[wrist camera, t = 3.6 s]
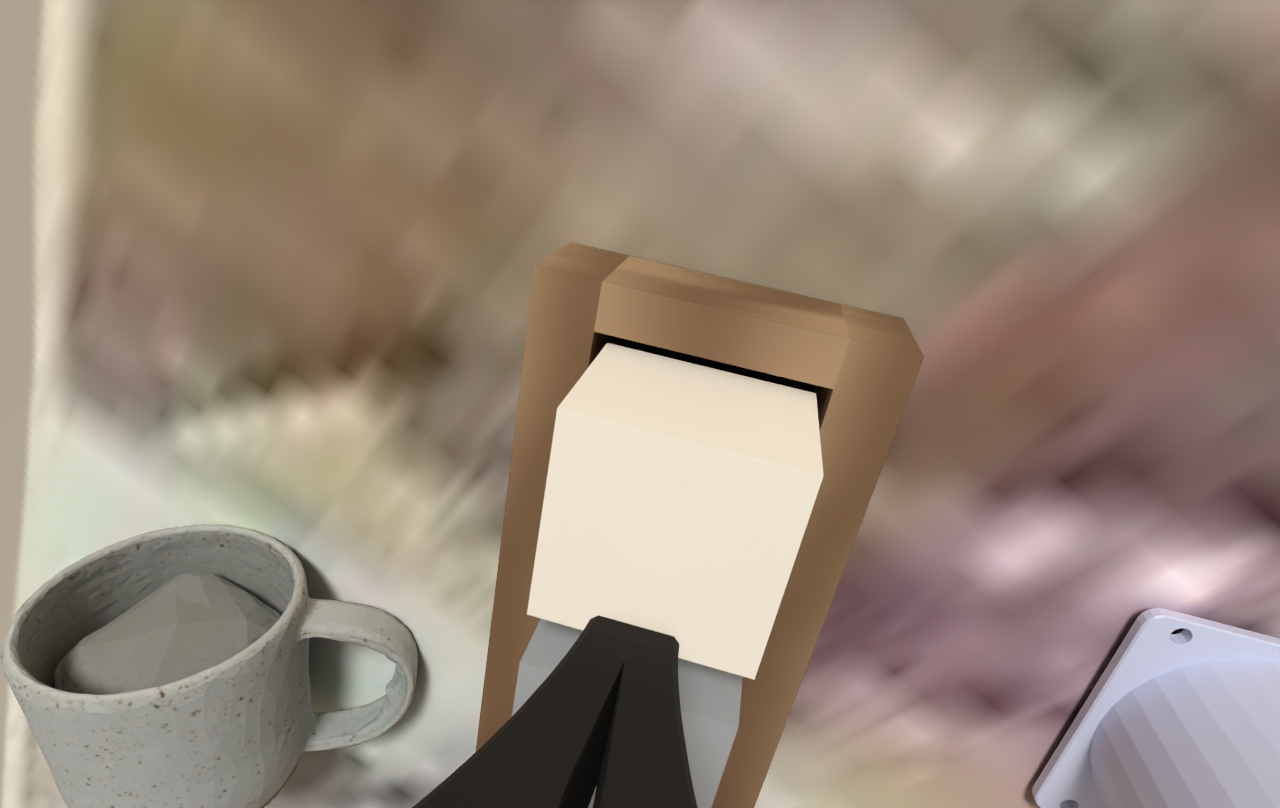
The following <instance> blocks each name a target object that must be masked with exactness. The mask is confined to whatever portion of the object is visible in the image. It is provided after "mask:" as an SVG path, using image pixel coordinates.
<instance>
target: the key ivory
mask: <svg viewBox="0 0 1280 808" xmlns="http://www.w3.org/2000/svg"><path fill="white" fill-rule="evenodd" d="M823 476H824V475H823V464H822V453H821V442H820V431H819V420H818V409H817V398H816V393H813V392H809V391H804V390H800V389H796V388H792V387H788V386H784V385H780V384H776V383H771V382H767V381H763V380H759V379H755V378H751V377H747V376H743V375H738V374H734V373H730V372H726V371H722V370H718V369H714V368H710V367H706V366H701V365H697V364H693V363H689V362H685V361H681V360H677V359H673V358H668V357H664V356H660V355H656V354H652V353H648V352H644V351H640V350H636V349H631V348H627V347H623V346H619V345H615V344H611V343H607V344H606V345H605V346H604V348H603V349H602V350H601V352H600V353H599V354H598V355H597V357H596V358H595V359H594V361H593V362H592V363H591V365H590V366H589V367H588V369H587V370H586V371H585V372H584V374H583V375H582V376H581V378H580V379H579V380H578V382H577V383H576V384H575V385H574V387H573V388H572V389H571V391H570V392H569V393H568V395H567V396H566V397H565V399H564V400H563V401H562V402H561V404H560V405H559V406H558V408H557V413H556V420H555V426H554V433H553V440H552V447H551V454H550V460H549V467H548V474H547V481H546V487H545V494H544V501H543V508H542V515H541V521H540V528H539V535H538V542H537V549H536V555H535V562H534V569H533V576H532V583H531V589H530V596H529V603H528V610H527V615H531V616H534V617H538V618H541V619H545V620H548V621H551V622H555V623H558V624H562V625H565V626H569V627H572V628H576V629H579V630H584V629H585V627H586V625H587V623H588V622H589V620H590V619H591V618H593V617H596V616H598V615H599V616H603V617H606V618H610V619H613V620H617V621H621V622H624V623H628V624H631V625H635V626H638V627H642V628H646V629H649V630H653V631H656V632H660V633H663V634H667V635H671V636H674V637H675V638H676V640H677V641H678V643H679V653H678V658H680V659H684V660H687V661H691V662H694V663H698V664H701V665H705V666H708V667H712V668H715V669H719V670H722V671H726V672H729V673H733V674H736V675H740V676H743V677H747V678H750V679H754V680H755V677H756V674H757V671H758V668H759V665H760V662H761V659H762V656H763V653H764V650H765V647H766V644H767V642H768V639H769V636H770V633H771V630H772V627H773V624H774V621H775V618H776V615H777V612H778V609H779V606H780V603H781V600H782V597H783V594H784V591H785V588H786V585H787V582H788V580H789V577H790V574H791V571H792V568H793V565H794V562H795V559H796V556H797V553H798V550H799V547H800V544H801V541H802V538H803V535H804V532H805V529H806V526H807V523H808V520H809V518H810V515H811V512H812V509H813V506H814V503H815V500H816V497H817V494H818V491H819V488H820V485H821V482H822V479H823Z"/></svg>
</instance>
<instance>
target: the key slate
mask: <svg viewBox="0 0 1280 808" xmlns="http://www.w3.org/2000/svg"><path fill="white" fill-rule="evenodd" d="M582 632H583V630H579V629H576V628H572V627H569V626H565V625H562V624H558V623H555V622H551V621H548V620H545V619H541V620H540V622H539V624H538V626H537V628H536V630H535V632H534V634H533V636H532V638H531V640H530V642H529V644H528V646H527V648H526V651H525V653H524V655H523V657H522V659H521V661H520V664H519V671H518V678H517V684H516V691H515V698H514V705H513V711H512V716H513V715H514V714H515V713H516V712H517V711H518V710H519V709H520V708H521V706H522V705H523V704H524V703H525V702H526V701H527V700H528V699H529V697H530V696H531V695H532V694H533V693H534V692H535V691H536V690H537V688H538V687H539V686H540V685H541V684H542V683H543V682H544V681H545V679H546V678H547V677H548V676H549V675H550V674H551V673H552V671H553V670H554V669H555V668H556V666H557V665H558V664H559V663H560V661H561V660H562V659H563V658H564V656H565V655H566V654H567V653H568V651H569V650H570V649H571V647H572V646H573V645H574V643H575V642H576V640H577V639H578V637H579V636H580V635H581V633H582ZM742 679H743V676H740V675H736V674H733V673H729V672H726V671H722V670H719V669H715V668H712V667H708V666H705V665H701V664H698V663H694V662H691V661H687V660H684V659H680V658H678V681H679V695H680V706H681V716H682V724H683V731H684V737H685V744H686V750H687V756H688V762H689V768H690V773H691V779H692V784H693V789H694V794H695V798H696V803H697V807H698V808H711V807H712V804H713V801H714V798H715V795H716V792H717V789H718V786H719V783H720V780H721V777H722V774H723V771H724V768H725V765H726V763H727V760H728V757H729V754H730V751H731V748H732V745H733V742H734V739H735V736H736V733H737V730H738V727H739V715H740V703H741V691H742ZM595 792H596V788H595V791H594V794H593V796H592V799H591V802H590V804H589V807H588V808H593V803H594V797H595Z"/></svg>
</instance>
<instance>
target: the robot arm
mask: <svg viewBox="0 0 1280 808" xmlns="http://www.w3.org/2000/svg"><path fill="white" fill-rule="evenodd" d="M1180 628H1183V629H1184V630H1183V631H1181V632H1180V633H1177V634H1171V633H1172V632H1173V631H1174V630H1177V629H1180ZM678 653H679V643H678V641H677V640H676V638H675V637H674V636H671V635H667V634H663V633H660V632H656V631H653V630H649V629H646V628H642V627H638V626H635V625H631V624H628V623H624V622H621V621H617V620H613V619H610V618H606V617H603V616H599V615H598V616H596V617H593V618H591V619H590V620H589V622H588V623H587V625H586V627H585V629H584V630H583V632H582V633H581V635H580V636H579V637H578V639H577V640H576V642H575V643H574V645H573V646H572V647H571V649H570V650H569V651H568V653H567V654H566V655H565V656H564V658H563V659H562V660H561V661H560V663H559V664H558V665H557V666H556V668H555V669H554V670H553V671H552V673H551V674H550V675H549V676H548V677H547V678H546V679H545V681H544V682H543V683H542V684H541V685H540V686H539V687H538V688H537V690H536V691H535V692H534V693H533V694H532V695H531V696H530V697H529V699H528V700H527V701H526V702H525V703H524V704H523V705H522V706H521V708H520V709H519V710H518V711H517V712H516V713H515V714H514V715H513V716H512V717H511V718H510V719H509V720H508V721H507V722H506V723H505V724H504V725H503V726H502V727H501V728H500V729H499V730H498V731H497V732H496V733H495V734H494V735H493V736H492V737H491V738H490V739H489V740H488V741H487V742H486V743H485V744H484V745H483V746H482V747H481V748H480V749H479V750H478V751H477V752H476V753H475V754H473V755H472V756H471V757H470V758H469V759H468V760H467V761H466V762H465V763H464V764H463V765H461V766H460V767H459V768H458V769H457V770H456V771H455V772H454V773H453V774H451V775H450V776H449V777H448V778H447V779H446V780H445V781H443V782H442V783H441V784H440V785H439V786H438V787H436V788H435V789H434V790H433V791H432V792H430V793H429V794H428V795H427V796H426V797H425V798H423V799H422V800H421V801H420V802H419V803H417V804H416V805H415V806H414V807H412V808H588V807H589V804H590V802H591V799H592V796H593V794H594V791H595V788H596V792H595V797H594V803H593V808H698V807H697V803H696V798H695V794H694V789H693V784H692V779H691V773H690V768H689V762H688V756H687V750H686V744H685V737H684V731H683V724H682V716H681V706H680V695H679V681H678ZM1032 793H1033V796H1034V799H1035V802H1036V804H1037V805H1038V806H1039V807H1040V808H1280V639H1279V638H1275V637H1272V636H1268V635H1264V634H1260V633H1256V632H1252V631H1249V630H1245V629H1241V628H1237V627H1233V626H1229V625H1226V624H1222V623H1218V622H1214V621H1210V620H1206V619H1203V618H1199V617H1195V616H1191V615H1187V614H1183V613H1180V612H1176V611H1172V610H1168V609H1163V608H1153V609H1148V610H1146V611H1144V612H1142V613H1141V614H1140V615H1139V616H1138V617H1137V619H1136V620H1135V622H1134V624H1133V625H1132V627H1131V628H1130V630H1129V632H1128V633H1127V635H1126V637H1125V638H1124V640H1123V641H1122V643H1121V645H1120V646H1119V648H1118V650H1117V651H1116V653H1115V654H1114V656H1113V658H1112V659H1111V661H1110V662H1109V664H1108V666H1107V667H1106V669H1105V671H1104V672H1103V674H1102V675H1101V677H1100V679H1099V680H1098V682H1097V684H1096V685H1095V687H1094V688H1093V690H1092V692H1091V693H1090V695H1089V697H1088V698H1087V700H1086V701H1085V703H1084V705H1083V706H1082V708H1081V710H1080V711H1079V713H1078V714H1077V716H1076V718H1075V719H1074V721H1073V723H1072V724H1071V726H1070V727H1069V729H1068V731H1067V732H1066V734H1065V735H1064V737H1063V739H1062V740H1061V742H1060V744H1059V745H1058V747H1057V748H1056V750H1055V752H1054V753H1053V755H1052V757H1051V758H1050V760H1049V761H1048V763H1047V765H1046V766H1045V768H1044V770H1043V771H1042V773H1041V774H1040V776H1039V778H1038V779H1037V781H1036V783H1035V784H1034V786H1033V788H1032ZM1065 800H1067V801H1065Z"/></svg>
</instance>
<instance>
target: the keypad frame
mask: <svg viewBox="0 0 1280 808" xmlns="http://www.w3.org/2000/svg"><path fill="white" fill-rule="evenodd" d="M615 337H618V338H623V339H627V340H631V341H635V342H639V343H643V344H647V345H652V346H656V347H660V348H664V349H668V350H672V351H676V352H681V353H685V354H689V355H693V356H697V357H701V358H705V359H710V360H714V361H718V362H722V363H726V364H730V365H734V366H738V367H743V368H747V369H751V370H755V371H759V372H763V373H767V374H772V375H776V376H780V377H784V378H788V379H792V380H796V381H801V382H805V383H809V384H813V385H815V388H814V391H813V393H816V398H817V409H818V420H819V431H820V442H821V453H822V464H823V475H824V476H823V479H822V482H821V485H820V488H819V491H818V494H817V497H816V500H815V503H814V506H813V509H812V512H811V515H810V518H809V520H808V523H807V526H806V529H805V532H804V535H803V538H802V541H801V544H800V547H799V550H798V553H797V556H796V559H795V562H794V565H793V568H792V571H791V574H790V577H789V580H788V582H787V585H786V588H785V591H784V594H783V597H782V600H781V603H780V606H779V609H778V612H777V615H776V618H775V621H774V624H773V627H772V630H771V633H770V636H769V639H768V642H767V644H766V647H765V650H764V653H763V656H762V659H761V662H760V665H759V668H758V671H757V674H756V677H755V680H754V679H750V678H747V677H743V679H742V691H741V703H740V715H739V727H738V730H737V733H736V736H735V739H734V742H733V745H732V748H731V751H730V754H729V757H728V760H727V763H726V765H725V768H724V771H723V774H722V777H721V780H720V783H719V786H718V789H717V792H716V795H715V798H714V801H713V804H712V807H711V808H754V806H755V804H756V801H757V798H758V796H759V793H760V790H761V788H762V785H763V782H764V780H765V777H766V774H767V772H768V769H769V766H770V764H771V761H772V759H773V756H774V753H775V751H776V748H777V745H778V743H779V740H780V737H781V735H782V732H783V729H784V727H785V724H786V721H787V719H788V716H789V713H790V711H791V708H792V705H793V703H794V700H795V698H796V695H797V692H798V690H799V687H800V684H801V682H802V679H803V676H804V674H805V671H806V668H807V666H808V663H809V660H810V658H811V655H812V652H813V650H814V647H815V645H816V642H817V639H818V637H819V634H820V631H821V629H822V626H823V623H824V621H825V618H826V615H827V613H828V610H829V607H830V605H831V602H832V599H833V597H834V594H835V592H836V589H837V586H838V584H839V581H840V578H841V576H842V573H843V570H844V568H845V565H846V562H847V560H848V557H849V554H850V552H851V549H852V546H853V544H854V541H855V538H856V536H857V533H858V531H859V528H860V525H861V523H862V520H863V517H864V515H865V512H866V509H867V507H868V504H869V501H870V499H871V496H872V493H873V491H874V488H875V485H876V483H877V480H878V478H879V475H880V472H881V470H882V467H883V464H884V462H885V459H886V456H887V454H888V451H889V448H890V446H891V443H892V440H893V438H894V435H895V432H896V430H897V427H898V425H899V422H900V419H901V417H902V414H903V411H904V409H905V406H906V403H907V401H908V398H909V395H910V393H911V390H912V387H913V385H914V382H915V379H916V377H917V374H918V371H919V369H920V366H921V364H922V361H923V358H924V356H923V354H922V352H921V351H920V349H919V347H918V345H917V343H916V341H915V339H914V337H913V335H912V334H911V332H910V330H909V328H908V326H907V324H906V322H905V320H904V319H903V318H898V317H894V316H889V315H885V314H881V313H876V312H872V311H868V310H863V309H859V308H854V307H850V306H846V305H841V304H837V303H833V302H828V301H824V300H820V299H815V298H811V297H806V296H802V295H798V294H793V293H789V292H785V291H780V290H776V289H771V288H767V287H763V286H758V285H754V284H750V283H745V282H741V281H737V280H732V279H728V278H723V277H719V276H715V275H710V274H706V273H702V272H697V271H693V270H689V269H684V268H680V267H675V266H671V265H667V264H662V263H658V262H654V261H649V260H645V259H640V258H636V257H632V256H627V255H623V254H619V253H614V252H610V251H606V250H601V249H597V248H592V247H588V246H584V245H579V244H575V243H570V244H568V245H567V246H565V247H564V248H562V249H561V250H559V251H557V252H556V253H554V254H553V255H551V256H550V257H548V258H546V259H545V260H543V261H542V262H540V263H538V264H537V265H535V266H534V275H533V283H532V291H531V299H530V308H529V316H528V324H527V333H526V341H525V349H524V357H523V366H522V374H521V382H520V390H519V399H518V407H517V415H516V423H515V432H514V440H513V448H512V457H511V465H510V473H509V481H508V490H507V498H506V506H505V514H504V523H503V531H502V539H501V547H500V556H499V564H498V572H497V581H496V589H495V597H494V605H493V614H492V622H491V630H490V638H489V647H488V655H487V663H486V671H485V680H484V688H483V696H482V705H481V713H480V721H479V729H478V738H477V746H476V752H477V751H478V750H479V749H480V748H481V747H482V746H483V745H484V744H485V743H486V742H487V741H488V740H489V739H490V738H491V737H492V736H493V735H494V734H495V733H496V732H497V731H498V730H499V729H500V728H501V727H502V726H503V725H504V724H505V723H506V722H507V721H508V720H509V719H510V718H511V717H512V711H513V705H514V698H515V691H516V684H517V678H518V671H519V664H520V661H521V659H522V657H523V655H524V653H525V651H526V648H527V646H528V644H529V642H530V640H531V638H532V636H533V634H534V632H535V630H536V628H537V626H538V624H539V622H540V620H541V618H538V617H534V616H531V615H527V610H528V603H529V596H530V589H531V583H532V576H533V569H534V562H535V555H536V549H537V542H538V535H539V528H540V521H541V515H542V508H543V501H544V494H545V487H546V481H547V474H548V467H549V460H550V454H551V447H552V440H553V433H554V426H555V420H556V413H557V408H558V406H559V405H560V404H561V402H562V401H563V400H564V399H565V397H566V396H567V395H568V393H569V392H570V391H571V389H572V388H573V387H574V385H575V384H576V383H577V382H578V380H579V379H580V378H581V376H582V375H583V374H584V372H585V371H586V370H587V369H588V367H589V366H590V365H591V363H592V362H593V361H594V359H595V358H596V357H597V355H598V354H599V353H600V352H601V350H602V349H603V348H604V346H605V345H606V344H607V343H611V344H614V340H615Z"/></svg>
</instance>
